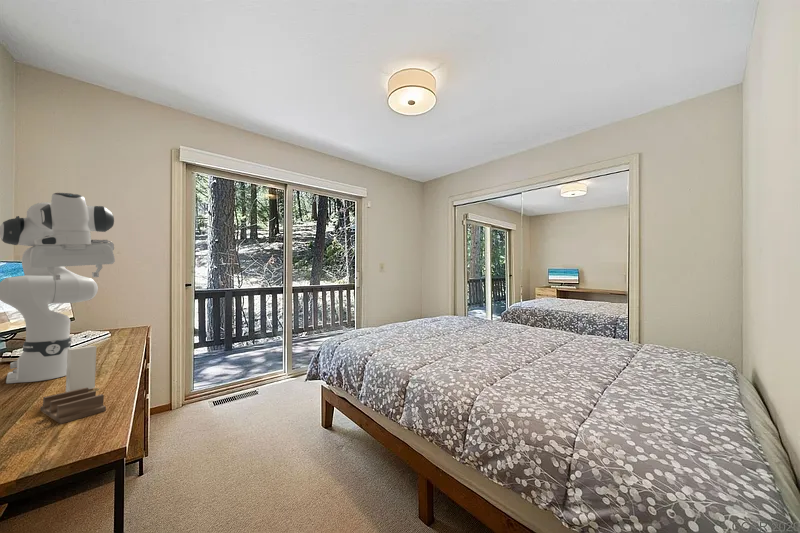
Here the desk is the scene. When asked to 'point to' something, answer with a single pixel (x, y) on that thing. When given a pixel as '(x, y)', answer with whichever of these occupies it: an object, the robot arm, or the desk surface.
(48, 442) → the desk surface
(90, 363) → the clay bar
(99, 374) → the desk surface
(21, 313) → the robot arm
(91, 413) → the drying rack
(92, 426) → the desk surface
